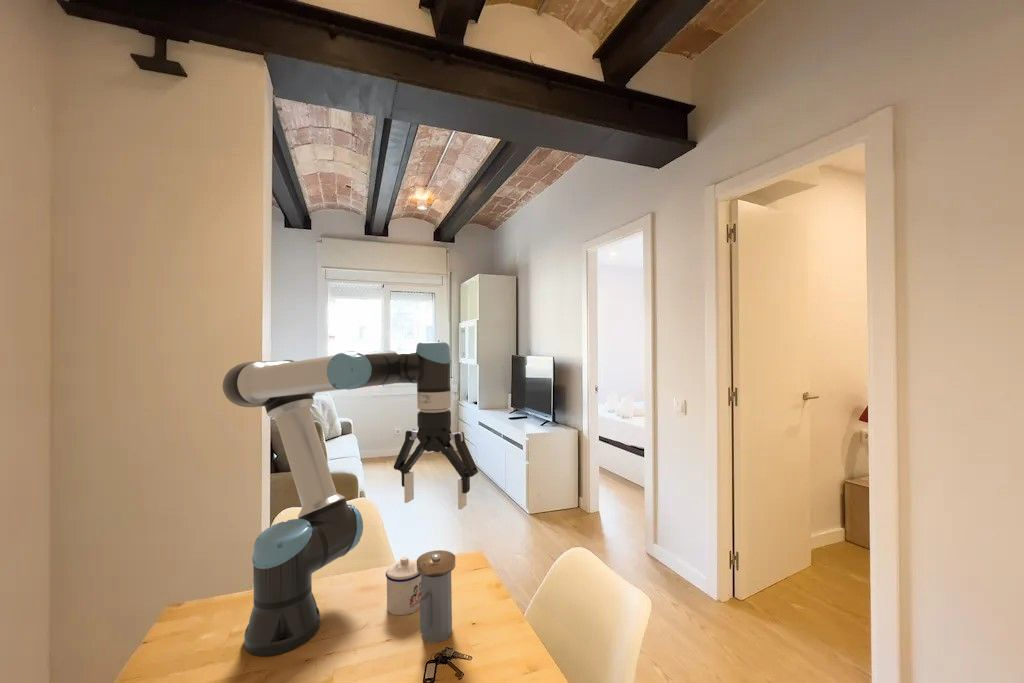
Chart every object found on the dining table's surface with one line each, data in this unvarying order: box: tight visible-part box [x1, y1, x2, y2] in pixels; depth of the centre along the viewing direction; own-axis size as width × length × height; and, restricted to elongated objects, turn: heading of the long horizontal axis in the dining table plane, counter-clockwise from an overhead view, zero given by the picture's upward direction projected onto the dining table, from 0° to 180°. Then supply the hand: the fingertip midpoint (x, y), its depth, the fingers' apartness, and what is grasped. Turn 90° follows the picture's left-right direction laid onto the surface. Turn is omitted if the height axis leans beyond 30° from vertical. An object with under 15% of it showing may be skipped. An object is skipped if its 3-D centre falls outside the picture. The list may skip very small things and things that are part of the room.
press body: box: [419, 571, 453, 643], centre depth 96 cm, size 7×9×14 cm
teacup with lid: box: [385, 556, 421, 616], centre depth 109 cm, size 12×9×12 cm
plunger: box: [416, 549, 456, 576], centre depth 97 cm, size 9×9×14 cm
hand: (435, 504), depth 98 cm, fingers open, 13 cm apart
